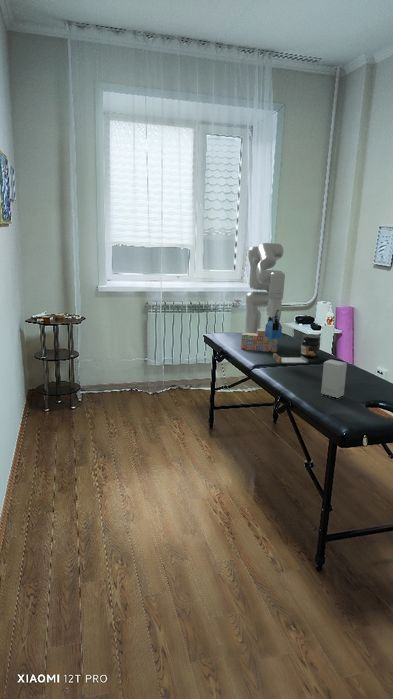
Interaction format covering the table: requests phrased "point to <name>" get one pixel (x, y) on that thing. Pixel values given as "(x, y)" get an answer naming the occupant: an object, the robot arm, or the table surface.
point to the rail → (277, 358)
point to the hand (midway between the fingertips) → (272, 328)
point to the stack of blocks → (258, 342)
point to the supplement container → (310, 346)
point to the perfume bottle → (272, 333)
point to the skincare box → (333, 378)
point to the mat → (294, 360)
